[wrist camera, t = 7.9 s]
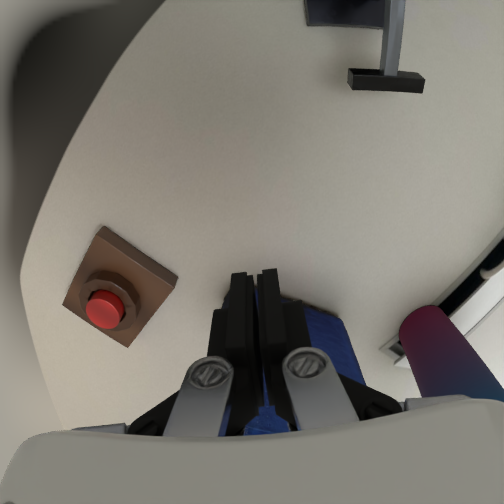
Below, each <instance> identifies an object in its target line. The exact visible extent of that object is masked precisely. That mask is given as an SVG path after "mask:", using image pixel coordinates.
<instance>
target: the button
mask: <svg viewBox="0 0 504 504" xmlns="http://www.w3.org/2000/svg"><path fill="white" fill-rule="evenodd" d="M86 312H87V315H88V317H89V319H90V320H91V321H92V322H93V323H94V324H96V325H97V326H99V327H101V328H105V329H111V328H114V327H116V326H117V325H118V324H119V322H120V320H121V318H122V316H123V313H124V305H123V303H122V301H121V299H120V298H119V297H118V296H117V295H116V294H114V293H113V292H110V291H107V290H99V291H96V292H95V293H94V294H93V295H92V297H91V298H90V300H89V302H88V303H87V305H86Z"/></svg>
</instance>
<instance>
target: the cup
mask: <svg viewBox="0 0 504 504" xmlns="http://www.w3.org/2000/svg"><path fill="white" fill-rule="evenodd" d="M399 339H400V341H401V344H402V346H403V349H404V351H405V354H406V356H407V359H408V361H409V364H410V367H411V369H412V372H413V374H414V377H415V380H416V382H417V385H418V388H419V391H420V393H421V396H422V398H424V397H437V396H448V395H466V396H468V397H470V398H472V399H491V400H497V401H501V402H504V389H503V388H502V386H501V385H500V383H499V382H498V381H497V379H496V378H495V376H494V375H493V374H492V372H491V371H490V370H489V368H488V367H487V366H486V364H485V363H484V362H483V360H482V359H481V358H480V357H479V355H478V354H477V353H476V351H475V350H474V349H473V348H472V346H471V345H470V344H469V342H468V341H467V340H466V339H465V337H464V336H463V335H462V334H461V333H460V331H459V330H458V329H457V328H456V326H455V325H454V324H453V323H452V322H451V320H450V319H449V318H448V317H447V316H446V314H445V313H444V312H443V311H442V310H441V309H440V308H439V307H437V306H432V305H430V306H424V307H421V308H419V309H417V310H415V311H414V312H412V313H411V314H410V315H409V316H408V317H407V318H406V319H405V320H404V322H403V323H402V325H401V327H400V330H399Z"/></svg>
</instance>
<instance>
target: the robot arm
mask: <svg viewBox="0 0 504 504" xmlns="http://www.w3.org/2000/svg"><path fill="white" fill-rule="evenodd" d="M257 291H258V307H257V301H256V294H255V288H254V281H253V275H248V276H247V272H240V273H232V275H231V285H230V296H229V307H228V308H225V309H215V310H214V312H213V318H212V324H211V331H210V338H209V345H208V352H207V357H204V358H201V359H199V360H197V361H195V362H194V363H193V364H192V365H191V366H190V367H189V369H188V370H187V372H186V375H185V378H184V380H183V383H182V385H181V388H180V390H179V391H177V392H176V393H174V394H173V395H171V396H170V397H168V398H167V399H166V400H164V401H163V402H161V403H160V404H158V405H157V406H155V407H154V408H152V409H151V410H149V411H148V412H146V413H145V414H143V415H142V416H140V417H139V418H137V419H136V420H135V421H134V422H132V424H131V425H128V426H127V425H126V424H125V423H119V424H111V425H102V426H92V427H81V428H75V429H72V430H64V431H53V432H48V433H43V434H39V435H36V436H33V437H31V438H28V439H27V440H26V441H24V442H23V443H22V444H21V445H20V447H19V448H18V449H17V451H16V453H15V454H14V456H13V458H12V459H11V461H10V463H9V465H8V468H7V470H6V472H5V474H4V477H3V479H2V482H1V484H0V504H504V402H501V401H497V400H491V399H472V398H470V397H468V396H466V395H448V396H437V397H424V398H406V400H405V402H397V401H396V400H395V399H393V398H392V397H390V396H387V395H385V394H383V393H381V392H379V391H376V390H374V389H372V388H370V387H368V386H365V385H363V384H361V383H359V382H357V381H355V380H353V379H350V378H348V377H346V376H344V375H342V374H340V373H338V372H336V370H335V368H334V366H333V364H332V362H331V360H330V358H329V356H328V355H327V354H326V353H325V352H324V351H322V350H320V349H317V348H314V347H312V345H311V340H310V335H309V331H308V326H307V322H306V317H305V313H304V308H303V304H302V301H301V300H297V301H289V302H281V295H280V288H279V281H278V274H277V268H275V269H266V270H262V274H257ZM263 370H264V376H265V382H266V388H267V395H268V401H269V406H275V412H276V415H278V416H279V417H281V418H282V419H284V420H285V421H287V424H288V429H289V432H286V433H276V434H264V435H250V436H247V435H248V423H249V422H250V421H251V420H252V419H254V418H255V417H256V416H259V407H264V406H265V402H264V378H263Z"/></svg>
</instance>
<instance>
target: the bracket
mask: <svg viewBox="0 0 504 504" xmlns="http://www.w3.org/2000/svg"><path fill="white" fill-rule="evenodd" d="M304 4H305V11H306V18H307V25H308V26H342V27H360V28H373V29H383V27H384V13H385V0H304Z"/></svg>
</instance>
